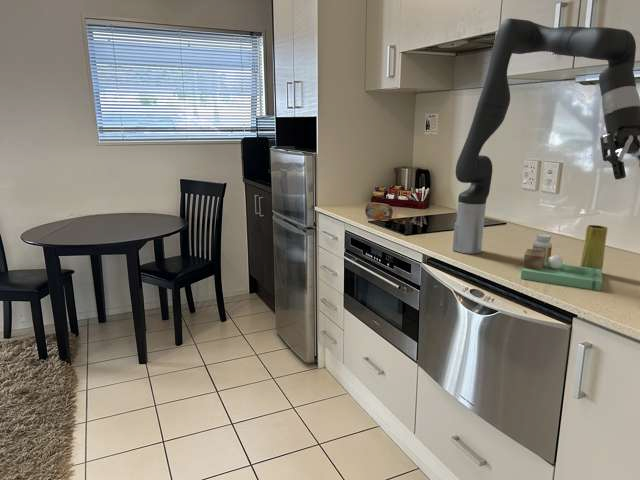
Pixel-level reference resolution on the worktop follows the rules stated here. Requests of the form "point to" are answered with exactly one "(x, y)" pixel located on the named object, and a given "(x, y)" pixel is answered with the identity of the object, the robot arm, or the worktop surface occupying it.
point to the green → (566, 276)
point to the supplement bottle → (543, 245)
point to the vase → (594, 247)
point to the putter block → (534, 259)
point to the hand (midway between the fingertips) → (634, 178)
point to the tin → (379, 211)
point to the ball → (555, 262)
